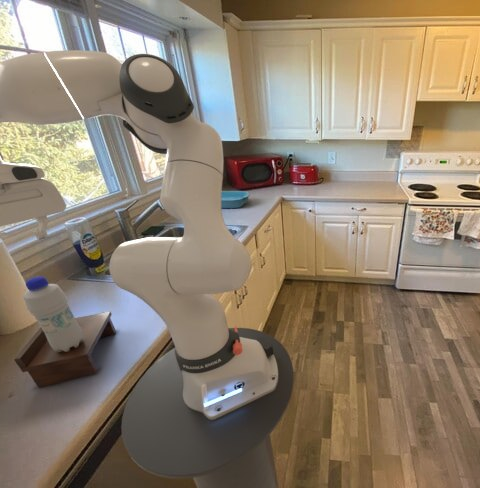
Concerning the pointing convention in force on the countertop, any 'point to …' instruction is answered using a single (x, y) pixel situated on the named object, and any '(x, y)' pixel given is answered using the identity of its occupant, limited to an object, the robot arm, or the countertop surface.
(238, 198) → the casserole dish
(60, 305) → the bottle
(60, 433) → the countertop surface
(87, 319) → the shelf
